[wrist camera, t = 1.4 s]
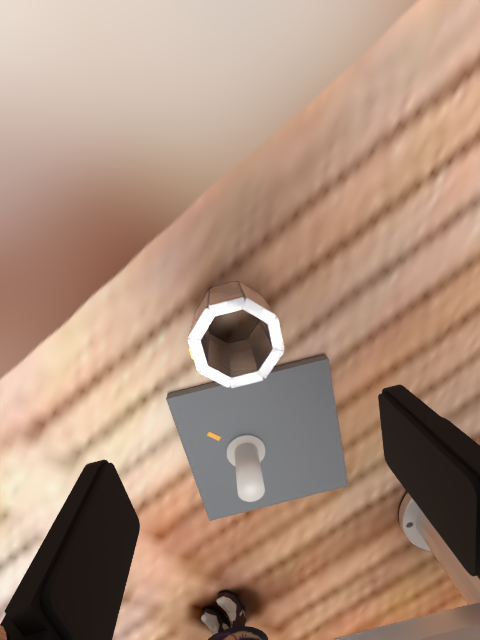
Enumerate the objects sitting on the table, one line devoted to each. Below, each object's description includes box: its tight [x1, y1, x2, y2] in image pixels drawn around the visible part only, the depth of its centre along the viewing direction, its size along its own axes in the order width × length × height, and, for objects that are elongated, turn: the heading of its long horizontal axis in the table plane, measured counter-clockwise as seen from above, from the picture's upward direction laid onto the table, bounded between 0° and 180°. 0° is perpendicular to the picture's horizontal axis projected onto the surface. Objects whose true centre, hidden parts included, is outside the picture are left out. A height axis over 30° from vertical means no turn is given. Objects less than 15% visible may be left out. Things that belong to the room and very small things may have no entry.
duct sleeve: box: [188, 281, 284, 388], centre depth 24 cm, size 7×6×7 cm
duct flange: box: [166, 355, 348, 521], centre depth 28 cm, size 16×16×6 cm
